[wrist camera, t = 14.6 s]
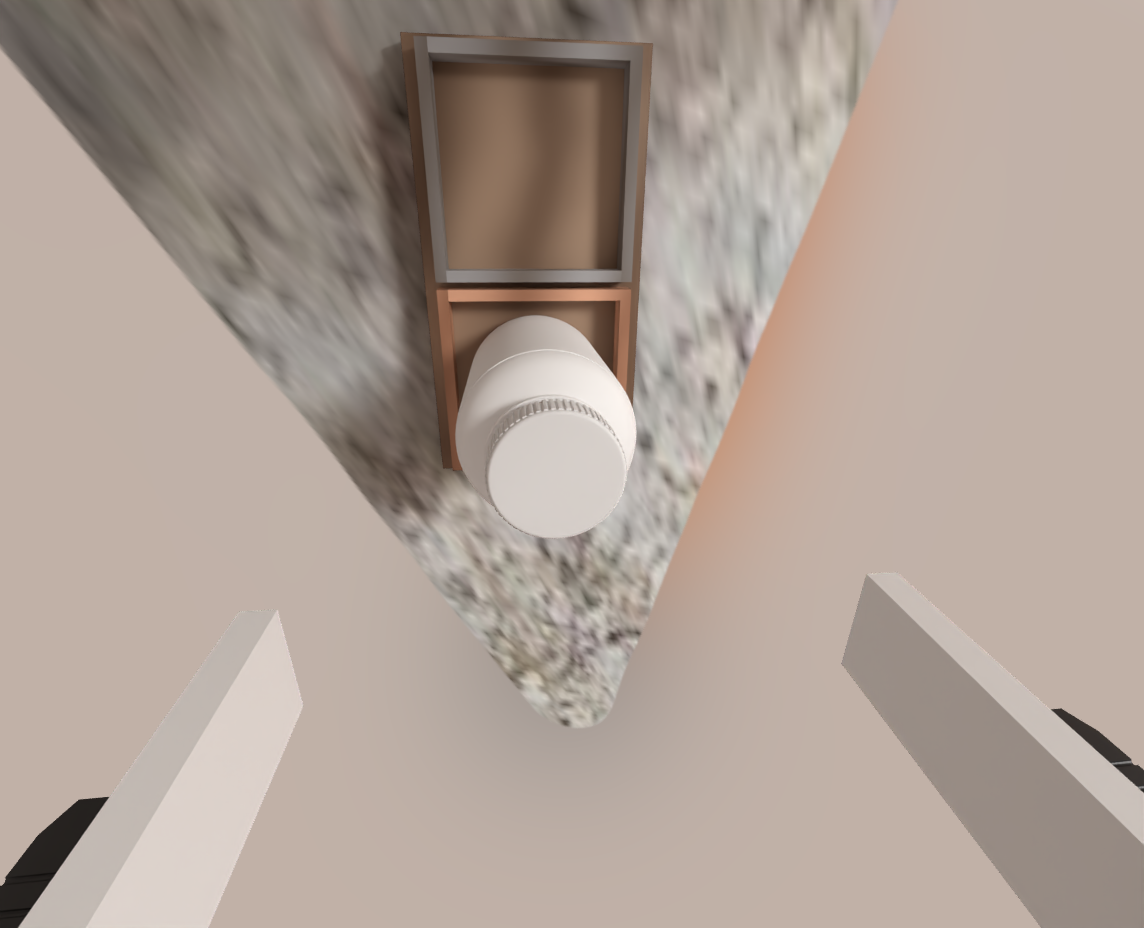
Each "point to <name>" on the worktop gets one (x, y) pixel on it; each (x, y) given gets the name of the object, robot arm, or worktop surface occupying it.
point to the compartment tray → (527, 193)
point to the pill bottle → (545, 428)
